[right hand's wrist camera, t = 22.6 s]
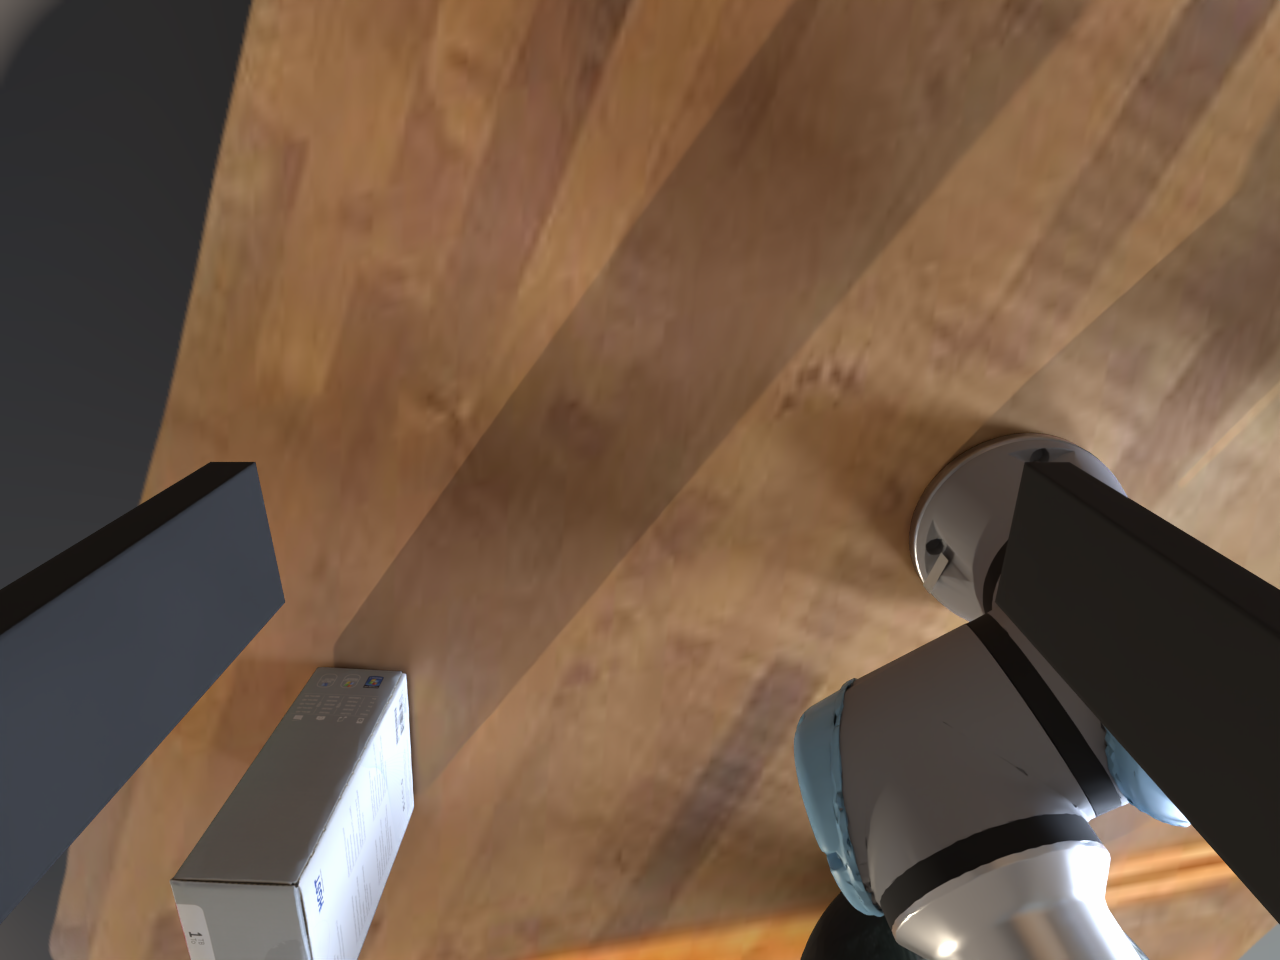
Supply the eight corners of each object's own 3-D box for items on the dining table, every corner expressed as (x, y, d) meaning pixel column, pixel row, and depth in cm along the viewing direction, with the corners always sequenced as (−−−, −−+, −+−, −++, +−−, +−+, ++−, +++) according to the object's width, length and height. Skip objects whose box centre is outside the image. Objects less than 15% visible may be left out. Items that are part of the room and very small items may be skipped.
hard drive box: (315, 663, 59) (166, 876, 40) (408, 668, 59) (301, 882, 40) (333, 805, 65) (209, 1049, 46) (417, 809, 65) (328, 1053, 46)
